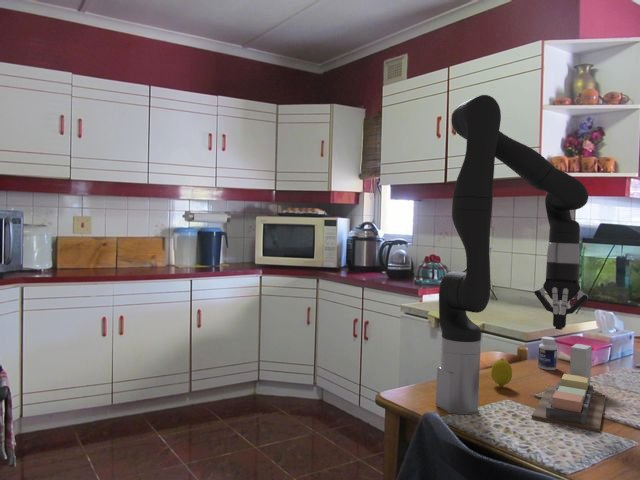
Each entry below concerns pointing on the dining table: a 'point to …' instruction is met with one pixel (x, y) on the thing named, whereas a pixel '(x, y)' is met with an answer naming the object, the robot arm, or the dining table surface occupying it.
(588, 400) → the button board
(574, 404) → the pad terracotta
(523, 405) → the dining table surface
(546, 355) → the pill bottle
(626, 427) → the dining table surface
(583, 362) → the skincare box
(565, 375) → the pad ochre
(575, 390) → the pad sage
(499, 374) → the lemon
